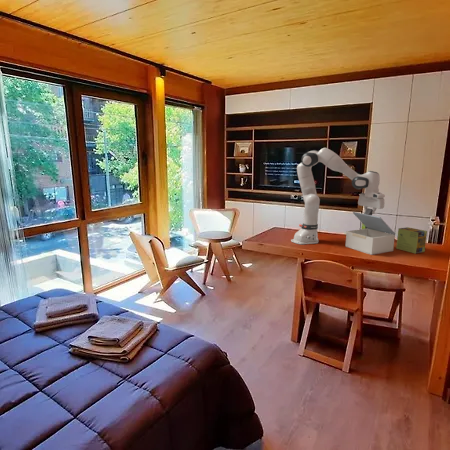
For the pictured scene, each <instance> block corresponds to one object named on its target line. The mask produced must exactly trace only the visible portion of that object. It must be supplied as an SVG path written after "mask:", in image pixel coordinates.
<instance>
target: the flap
mask: <svg viewBox="0 0 450 450" xmlns="http://www.w3.org/2000/svg"><path fill="white" fill-rule="evenodd" d="M371 211H373V208H369V207H368V208H367V210H366V212H365V211H364V213H361V212H355V211H353V212H352V214H353V215H354V216H355V217H356V218H357V219H358V220H359V221H360V222H361V224H362V223H363V224H364V225H365V226H366V227H367V228H368V229H373V230H377V231H381V232H385V233H389V234H393V235H395V236H396V232H395V231H394V230H392V228H391V227H390V226H389V225H388V224H387V223H386V222H385V221H384V219H383V218H382V217H381V216H377V215H376V216H375V215H373V214H371Z"/></svg>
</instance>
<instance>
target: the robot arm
mask: <svg viewBox="0 0 450 450" xmlns="http://www.w3.org/2000/svg"><path fill="white" fill-rule="evenodd" d="M319 163H322V164H323V165H324V166H326V167H327V168H328V169H330V170H331V171H334V172H339V173H341V174H343V175H344V176H346V177H347V178H348V179H349V180H351V185H352V187H353V188H354V189H356V190H362V189H364V192H361V193H359V197H358V201H357V204H358V206H361V207H363V208H364V213H365V212H366V210H367V208H368V209H369V208H371V209H372V210H373V211H371V214H372V215H375V214H376V213H375V212H376V211H377V209H380V210H381V209H384V208H385V194H383V193H382V192H380V191H379V190H380V189H379V186H380V180H381V176H380V173H379V172H377V171H373V170H368V171H367V172H365V173H363V174H362V173H361V174H360V173H358V172H357V171H355V169H352V167H350V166H349V165H348V164H347V163H346V162H345V161H344V160H343V158H341V156H340V155H338V154H337V153H336V152H334V150H331V149H329V148H327V147H323V148H321V149H320V150H316V149H313V150H310V151H307V152H305V153H303V155H302V156H301V162H300V163H299V164H297V166H296V172H297V173H296V174H297V178H298V182H299V185H300V190H301V193H302V199H303V203H304V209H303V220H302V221H303V222H302V224H301V223H300V224H298V225H299V226H298V227H300V229H299V230H297V231H296V232H295V233H294V236H293V238H291V239H290V241H291V243H295V244H297V245H311V244H319V237H318V235H319V234H318V229H319V223H318V220H319V219H318V218H319V209H320V201H321V199H320V197H319V196H318V193H317V189H316V182H315V179H314V175H313V171H312V167H314V166H315V165H317V164H319Z"/></svg>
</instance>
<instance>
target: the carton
mask: <svg viewBox="0 0 450 450" xmlns="http://www.w3.org/2000/svg"><path fill="white" fill-rule="evenodd" d="M345 236H346V237H345V248H349V249H353V250H354V251H358V252H361V253H364V254H367V255H371V256H372V255H373V256H374V255H380V254H384V253H389V252H394V248H395V247H394V246H395V237H396V234H395V235H394V234H389V233H385V232H381V231H376V230H372V229H368V228H367V229H362V228H361V229H353V230H346V234H345Z"/></svg>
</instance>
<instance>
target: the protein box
mask: <svg viewBox="0 0 450 450" xmlns="http://www.w3.org/2000/svg"><path fill="white" fill-rule="evenodd" d="M427 234H428V231H427V230H424V229H421V228H420V229H418V228H415V227H408V226H407V227H406V226H405V227H400V228H398V230H397V240H396V248H395V249H397V250H400V251H404V252H407V253H412V254H420V253H425V251H426V243H427Z"/></svg>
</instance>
